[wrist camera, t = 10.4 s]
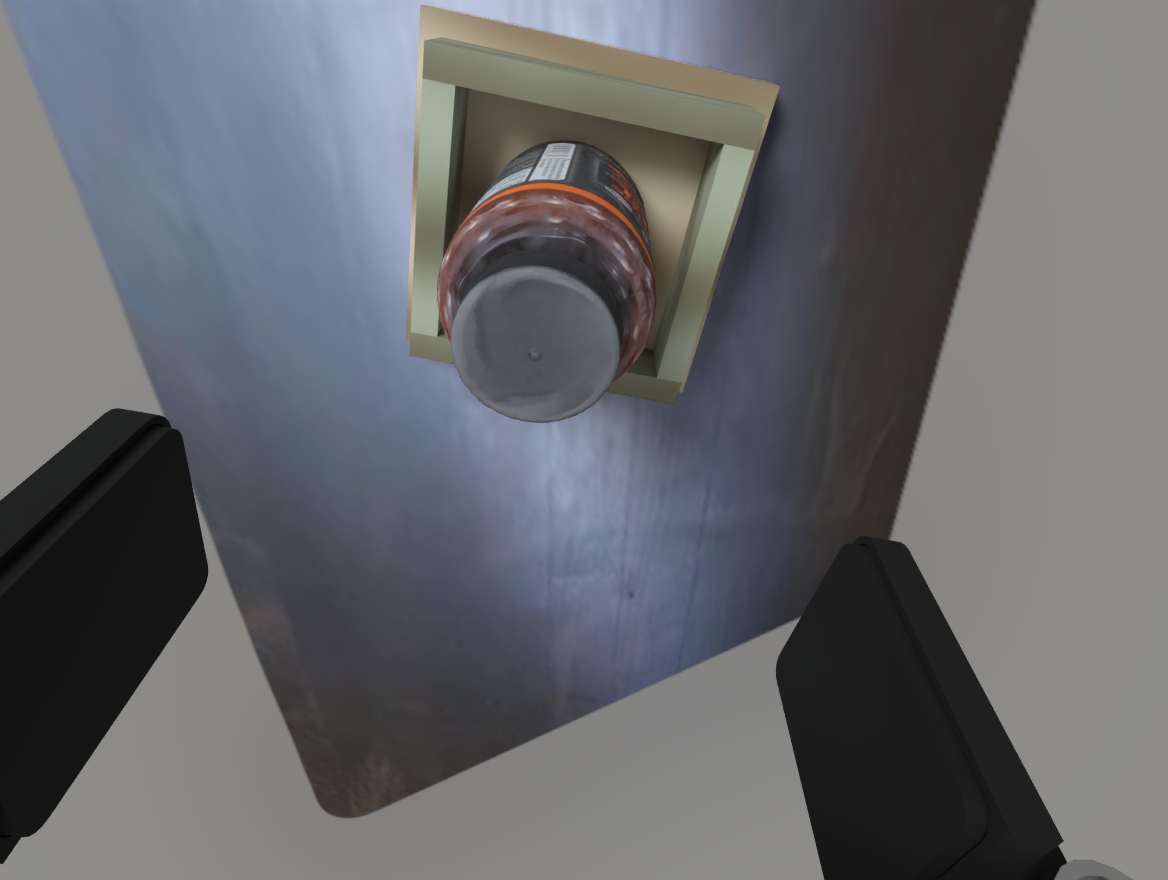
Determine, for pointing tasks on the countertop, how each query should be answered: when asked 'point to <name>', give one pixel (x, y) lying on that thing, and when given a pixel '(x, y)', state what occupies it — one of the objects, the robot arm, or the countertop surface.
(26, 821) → the robot arm
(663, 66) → the socket board
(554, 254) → the supplement bottle
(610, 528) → the countertop surface
